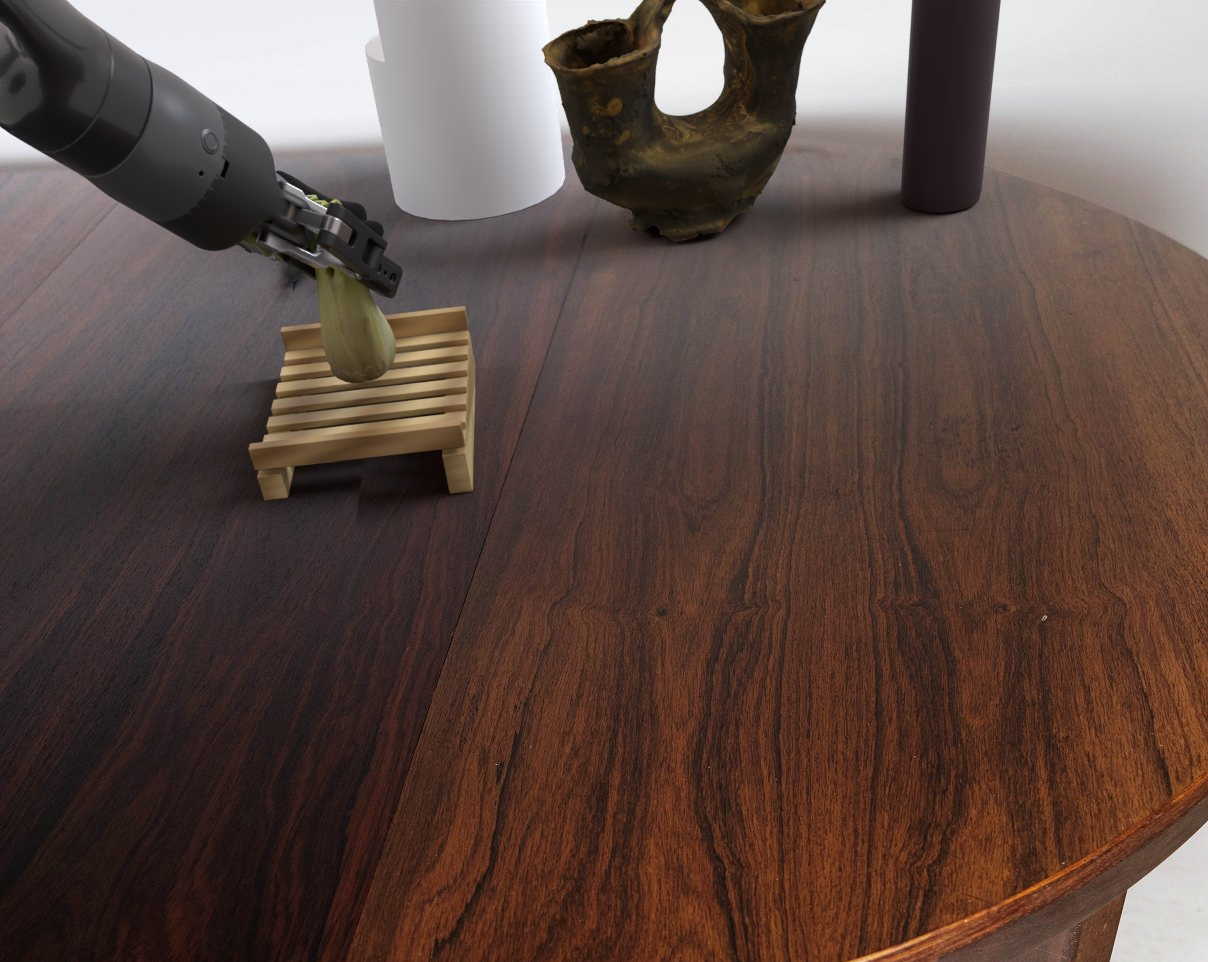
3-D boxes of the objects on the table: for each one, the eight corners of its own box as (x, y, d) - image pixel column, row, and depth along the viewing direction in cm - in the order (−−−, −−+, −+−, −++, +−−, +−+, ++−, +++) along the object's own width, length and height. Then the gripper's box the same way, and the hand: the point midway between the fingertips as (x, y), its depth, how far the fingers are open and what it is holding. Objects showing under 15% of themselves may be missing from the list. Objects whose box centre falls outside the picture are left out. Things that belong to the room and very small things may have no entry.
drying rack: (268, 515, 88) (248, 449, 85) (298, 388, 101) (281, 327, 98) (473, 491, 88) (460, 424, 84) (475, 367, 101) (465, 305, 98)
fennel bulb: (328, 361, 93) (287, 190, 85) (396, 349, 93) (362, 179, 85) (333, 397, 88) (291, 222, 80) (404, 385, 89) (370, 209, 81)
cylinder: (600, 173, 129) (569, -161, 111) (473, 234, 121) (416, -117, 102) (485, 144, 139) (438, -168, 120) (359, 198, 130) (288, -128, 112)
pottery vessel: (788, 171, 125) (788, -63, 112) (845, 207, 117) (853, -40, 104) (547, 232, 120) (518, -7, 106) (590, 273, 112) (565, 21, 99)
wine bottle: (981, 184, 118) (1021, -216, 98) (979, 215, 113) (1021, -200, 93) (902, 184, 120) (926, -209, 100) (897, 215, 115) (921, -193, 95)
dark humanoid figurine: (163, 159, 123) (301, 197, 108) (246, 160, 129) (389, 196, 113) (169, 248, 127) (303, 297, 112) (249, 245, 133) (388, 291, 117)
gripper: (71, 201, 77) (270, 310, 91) (235, 238, 70) (422, 349, 85) (111, 78, 76) (305, 208, 91) (280, 103, 69) (460, 239, 84)
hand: (360, 275), depth 88 cm, fingers closed on fennel bulb, 5 cm apart
